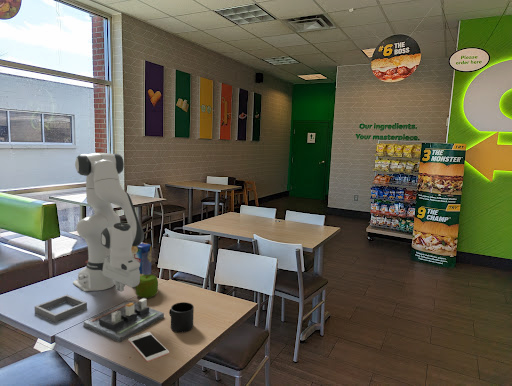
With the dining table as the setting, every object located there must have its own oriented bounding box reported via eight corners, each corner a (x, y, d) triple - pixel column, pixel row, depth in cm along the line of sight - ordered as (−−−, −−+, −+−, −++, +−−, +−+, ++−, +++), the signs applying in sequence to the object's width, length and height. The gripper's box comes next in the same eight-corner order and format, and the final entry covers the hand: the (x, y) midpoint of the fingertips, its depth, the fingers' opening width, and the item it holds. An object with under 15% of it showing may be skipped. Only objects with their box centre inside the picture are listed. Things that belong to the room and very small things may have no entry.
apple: (151, 289, 186) (151, 269, 185) (162, 295, 179) (162, 275, 177) (131, 294, 178) (131, 274, 177) (141, 302, 171) (141, 280, 169)
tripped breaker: (125, 314, 149) (125, 304, 148) (131, 312, 152) (131, 302, 151) (128, 316, 148) (128, 305, 147) (134, 313, 151) (134, 303, 150)
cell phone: (149, 333, 144) (149, 331, 144) (169, 354, 131) (169, 351, 131) (127, 340, 138) (127, 338, 138) (147, 363, 125) (147, 360, 125)
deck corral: (34, 312, 156) (34, 306, 155) (66, 300, 169) (66, 294, 168) (55, 322, 149) (54, 315, 148) (87, 308, 162) (86, 302, 161)
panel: (83, 326, 147) (83, 308, 146) (129, 304, 167) (129, 288, 166) (119, 342, 136) (119, 323, 135) (163, 317, 157) (164, 300, 156)
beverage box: (137, 278, 199) (136, 241, 196) (151, 283, 194) (151, 244, 191) (127, 282, 193) (127, 244, 190) (141, 287, 188) (141, 247, 185)
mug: (176, 317, 157) (177, 298, 156) (197, 325, 151) (198, 305, 150) (161, 326, 149) (161, 306, 148) (182, 335, 143) (183, 314, 142)
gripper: (99, 256, 154) (98, 286, 157) (131, 268, 145) (129, 300, 147) (111, 253, 160) (110, 281, 162) (143, 264, 150) (141, 294, 152)
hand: (119, 290), depth 154 cm, fingers closed
